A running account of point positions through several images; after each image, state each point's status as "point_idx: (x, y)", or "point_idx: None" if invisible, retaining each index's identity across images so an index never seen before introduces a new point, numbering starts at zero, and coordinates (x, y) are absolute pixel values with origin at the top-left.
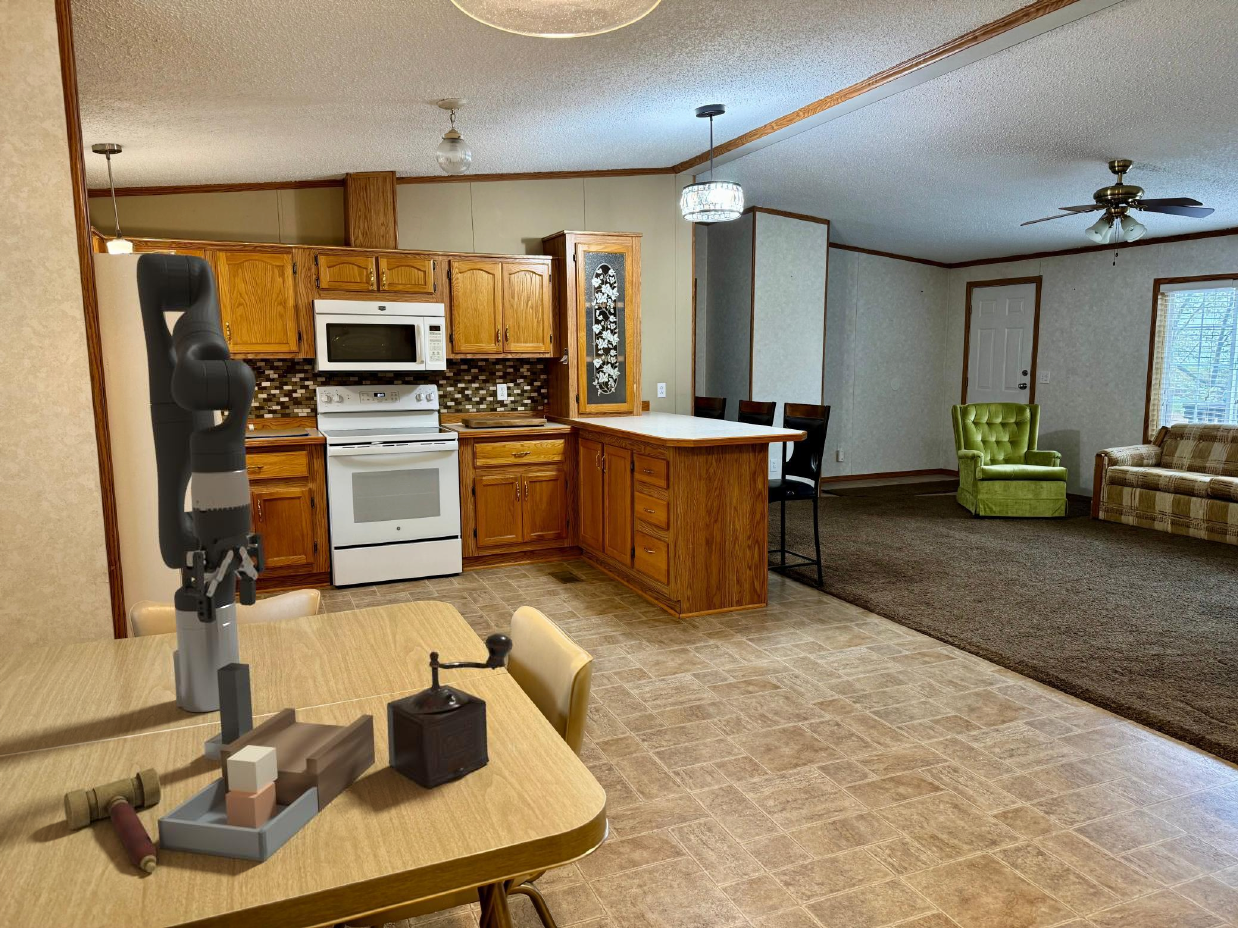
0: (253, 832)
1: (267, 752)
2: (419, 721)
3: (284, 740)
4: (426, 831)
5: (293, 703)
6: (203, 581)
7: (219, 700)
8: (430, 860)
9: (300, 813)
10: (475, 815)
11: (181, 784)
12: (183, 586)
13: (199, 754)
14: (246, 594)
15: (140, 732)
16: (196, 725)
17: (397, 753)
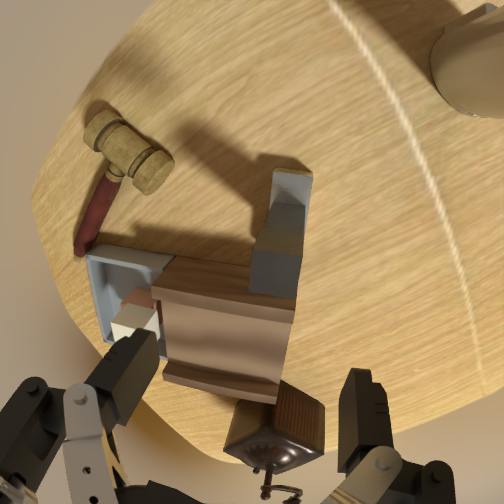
0: (102, 335)
1: None
2: (227, 447)
3: (233, 319)
4: (180, 406)
5: (465, 206)
6: (52, 454)
7: (263, 224)
8: (154, 407)
9: None
10: (206, 425)
11: (202, 181)
12: (14, 397)
13: (287, 150)
14: (346, 414)
15: (351, 16)
16: (387, 87)
17: None
